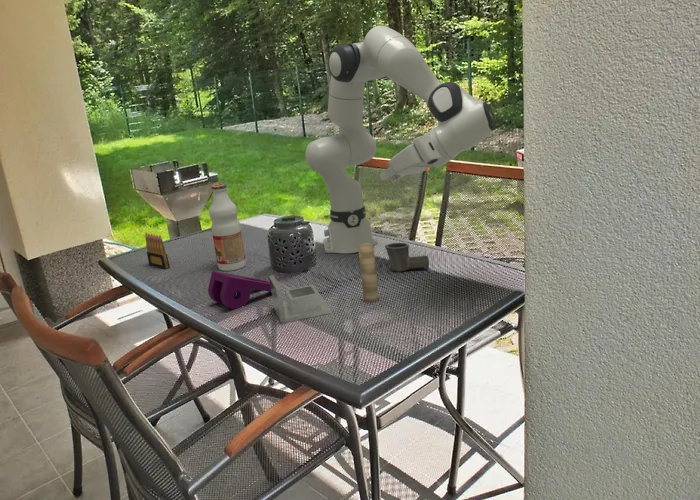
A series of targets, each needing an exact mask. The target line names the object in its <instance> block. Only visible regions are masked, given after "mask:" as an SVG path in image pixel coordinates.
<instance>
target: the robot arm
mask: <svg viewBox="0 0 700 500" xmlns="http://www.w3.org/2000/svg"><path fill="white" fill-rule="evenodd" d="M327 65H328V69H329V73H330V81H329V86H328V87H329V88H328V100H327V117H328V119H329V121H330V122H331V123H332V124H334V125H335V126H338V128H339V133H338V134H336V135H331V136H324V137H320V138H317V139H315V140H313V141H311V142H309V143H308V144H307V146H306V148H305V161H306V163H307V165H308V167H309V168H310V169H311V170H313V172H314V171H315V172H316V173H318V174H319V175H320V176H321V177H322V179H323V181H324V183H325V185H326V187H327V190H328V196H329V203H330V210H329V212H330V213H329V217H330V222H329V224H328V226H327V229H324V230H323V234H324V237H326V238H323V239H322V240H323V241H322V243H323V248H324V249H323V250H324V252H325V253H327V254H328V253H333V254H335V253H336V254H354V253H359V249H358V246H359V245H360V244H364V243H371V244H373V245H374V246H375V245H377V244H378V240H377V239H375V238H373V231H372V230H373V229H372V225H371V221H370V220H369V219H367V218H366V217H367V215H366V211H367V210H366V208H365V206H364V201H363V200H364V199H363V189H362V188H363V187H362V185H361V183H360V182H359V181H358V180H356V179H355V178H352V177H350V176H349V174H348V171H347V168H348V167H353V166H354V167H355V166H359V165H362V164H364V163H367V162H369V161H371V160H372V159H373V158H374V157H375V156H376V151H377V144H376V143H377V142H376V140H375V139H374V137H373V135H371V133H370V132H368V131H367V130H366V128H365V125H364V121H363V110H364V109H363V108H364V99H365V98H364V96H365V84H366V82H368V81H373V80H379V79H389V80H391V81H392V82H394V83H396V85H399V86H400V87H402V88H404V89H406V90H407V91H408V92H410V93H412V94H413V95H414V96H416V97H418V98H419V99H421V101H424V102H425V103H426V104H427V107H428V109H429V112H430V114H431V115H432V116H433V118H435V120H437V124H438V125H437V126H435V127H434V128H432V129H431V130H429V131H428V132H426V133H424V134H423V135H420V136H417V137H416V138H414V139H412V143H411V144H409V145H408V146H406V147H405V148H404V149H402V150H401V151H399V152H398V153H396V154H395V155H394V156H392V158H390V159H389V161H388V166H389V167H388V168H386V169H385V170H384V171H383V172H381V173H380V174H379V177H380V179H381V181H382V182H383V181H387V180H388V179H390V178H391V177H392V178H393V180H394V181H399V180H401V179H402V178H404V177H406V176H409V175H419V174H420V173H423V172H424V171H425V170H428V169H429V168H430V167H433V168H435V169H439V168H441V167H443V166H444V165H445V164H447V163H449V162H450V161H452V160H453V159H456V157H457V156H458V155H459V154H460V153H462V152H464V151H465V152H466V151H468V150H471V149H472V148H473V147H475V146H477V145H478V144H479V143H481V142H483V141H484V140H486V139H487V138H489V136H490V135H492V133H493V132H494V131H495V129H496V124H497V123H496V119H495V115H494V113H493V110H492V108H491V106H490V105H489V104H488V103H487V101H485V100H480V99H478V98H476V97H474V96H472V95H471V94H470V93H469V92H467V90H465V89H464V88H463V86H461V85H459V84H458V83H456V82H455V81H454V82H453V81H447V82H443V83H442V82H440V80H439V78H437V76H436V75H435V74H434V72H433V71H432V69H431V67H430V66H429V65H428V63H427V62H426V60H425V59H424V57H423V55H422V53H421V52H420V51H419V50H418V48H417V47H416V46H415V45H414V43H412V42H411V41H410V40H409V39H408V38H406V36H404V35H403V34H401V33H400V32H398V31H397V30H395V29H392V27H391V28H390V27H389V26H386V25H377V26H375V27H373V28H371V29H370V30H369V31H368V32H367V33H366V34H365V36H364V40H363V41H362V42H350V43H344V44H343V43H342V44H340V45H338V46H335V47H334V48H333V49H332V50H331V52H330V54H329V55H328V63H327Z"/></svg>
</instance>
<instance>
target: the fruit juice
mask: <svg viewBox="0 0 700 500" xmlns="http://www.w3.org/2000/svg"><path fill="white" fill-rule="evenodd" d="M227 189H228V185H227V183H224V182H223V183H221V182H220V183H215V184H212V185H211V191H212V193H213V194H212V197H213V198H212V203H211V205H210V207H209V209H208V210H209V211H208V214H209V217H210V220H211V225H210V226H211V236H212V240H213V246H214V251H215V252H214V253H215V257H216V262H217V267H218V270H220V271H224V272H229V271H237V270H240V269H242V268H244V267H246V263H247V260H246V253H245V247H244V241H243V233H242V227H241V224H240V221H239V219H238V208H237V207H238V206H237V205H236V204H235V203H234V201H232V199H231V198H230V195H228V191H227Z"/></svg>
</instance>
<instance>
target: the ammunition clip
mask: <svg viewBox="0 0 700 500" xmlns="http://www.w3.org/2000/svg"><path fill="white" fill-rule="evenodd" d="M144 236H145V237H144V238H145V246H146V256H147V259H148V260H147V261H148V265H149V266H150V267H155V268H158V269H162V270H169V269H171V266H170V263H169V257H168V254H167V251H166V247H165V245H164V241H163V238H162V236H161V234H160V235H158V234H153V233H150V232H148V233H147V232H145V235H144Z"/></svg>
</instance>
